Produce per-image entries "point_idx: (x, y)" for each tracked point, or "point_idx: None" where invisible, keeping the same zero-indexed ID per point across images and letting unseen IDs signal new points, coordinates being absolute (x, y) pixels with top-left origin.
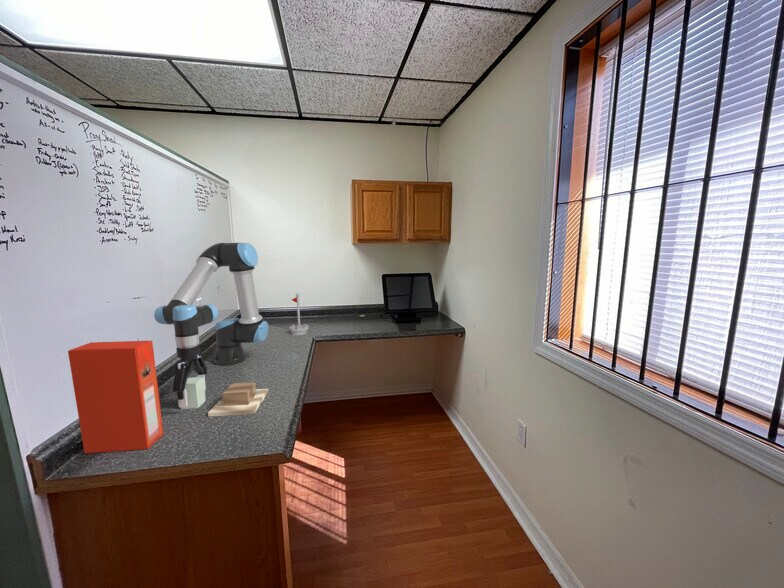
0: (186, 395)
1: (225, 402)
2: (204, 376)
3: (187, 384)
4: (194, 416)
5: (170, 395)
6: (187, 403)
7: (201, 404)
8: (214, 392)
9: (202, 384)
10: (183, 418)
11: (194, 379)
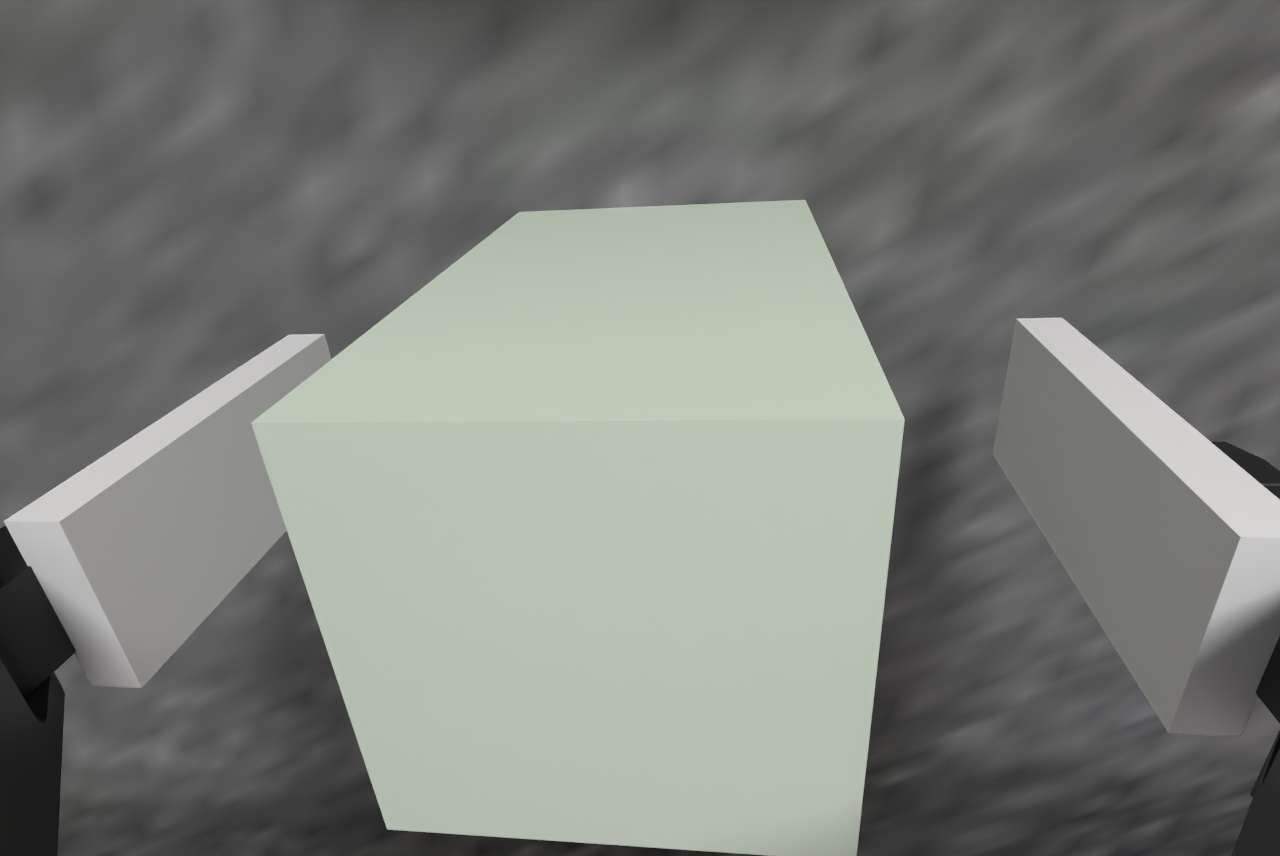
0: (1144, 426)
1: None
2: (62, 489)
3: (866, 653)
4: (1162, 78)
5: None
6: (1036, 338)
7: (674, 205)
8: (206, 216)
9: (467, 327)
10: (1174, 253)
11: (502, 618)
